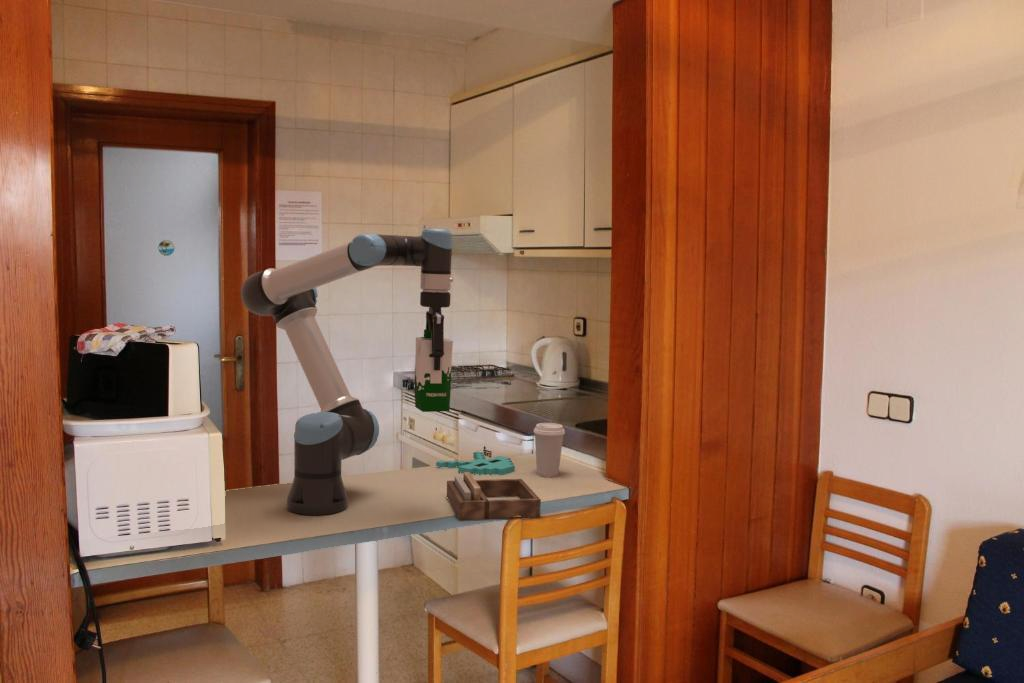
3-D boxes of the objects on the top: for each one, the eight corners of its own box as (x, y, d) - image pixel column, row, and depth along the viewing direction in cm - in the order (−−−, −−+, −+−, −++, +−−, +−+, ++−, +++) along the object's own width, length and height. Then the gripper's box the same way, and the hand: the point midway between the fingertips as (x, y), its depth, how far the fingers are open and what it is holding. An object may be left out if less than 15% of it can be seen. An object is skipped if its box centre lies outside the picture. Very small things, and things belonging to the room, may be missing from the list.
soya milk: (443, 405, 227) (445, 329, 225) (454, 412, 219) (456, 332, 217) (410, 406, 224) (412, 328, 222) (420, 413, 216) (422, 332, 214)
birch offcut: (473, 517, 219) (474, 488, 218) (462, 499, 234) (463, 472, 233) (479, 517, 219) (480, 488, 218) (468, 499, 235) (469, 472, 234)
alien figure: (436, 468, 267) (487, 480, 255) (436, 461, 267) (487, 473, 255) (477, 458, 283) (527, 468, 271) (477, 451, 283) (527, 461, 271)
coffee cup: (526, 471, 266) (528, 423, 264) (555, 469, 270) (557, 421, 268) (539, 479, 257) (541, 429, 256) (568, 477, 261) (570, 427, 259)
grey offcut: (464, 518, 218) (465, 492, 218) (453, 499, 234) (454, 476, 233) (470, 517, 219) (471, 492, 218) (459, 499, 234) (460, 475, 233)
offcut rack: (459, 520, 216) (459, 502, 215) (446, 497, 235) (447, 480, 235) (540, 517, 220) (540, 499, 220) (520, 494, 240) (521, 478, 240)
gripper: (457, 293, 209) (454, 387, 211) (443, 289, 230) (441, 373, 232) (426, 293, 207) (423, 387, 209) (415, 288, 228) (412, 373, 230)
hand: (432, 380), depth 221 cm, fingers closed on soya milk, 9 cm apart
